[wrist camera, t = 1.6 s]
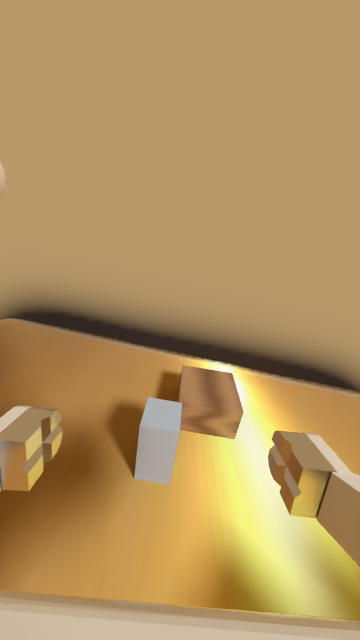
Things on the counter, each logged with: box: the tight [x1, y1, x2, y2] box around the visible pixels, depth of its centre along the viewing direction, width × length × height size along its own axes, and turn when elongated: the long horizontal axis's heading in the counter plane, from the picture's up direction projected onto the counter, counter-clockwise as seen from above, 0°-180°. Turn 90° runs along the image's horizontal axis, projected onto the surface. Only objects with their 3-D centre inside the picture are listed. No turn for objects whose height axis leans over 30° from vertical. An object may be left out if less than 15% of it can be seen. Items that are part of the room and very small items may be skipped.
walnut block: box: [177, 365, 243, 439], centre depth 37 cm, size 10×10×6 cm
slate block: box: [134, 397, 182, 485], centre depth 26 cm, size 4×4×9 cm
